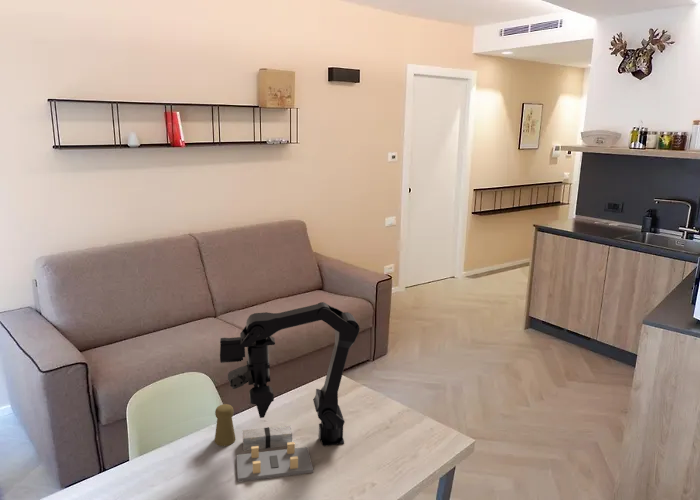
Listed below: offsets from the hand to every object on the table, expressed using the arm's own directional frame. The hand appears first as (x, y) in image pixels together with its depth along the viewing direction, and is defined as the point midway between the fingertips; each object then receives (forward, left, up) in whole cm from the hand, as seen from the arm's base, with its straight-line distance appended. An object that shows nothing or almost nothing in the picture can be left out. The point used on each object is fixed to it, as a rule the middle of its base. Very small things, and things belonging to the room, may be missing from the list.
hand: (260, 408), depth 151 cm
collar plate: (-3, +10, -12) cm, 16 cm away
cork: (+10, -4, -12) cm, 16 cm away
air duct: (-2, 0, -12) cm, 12 cm away
